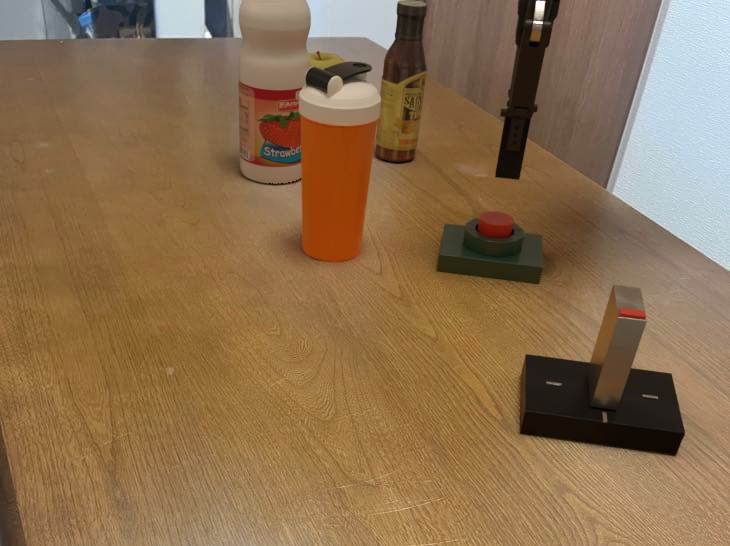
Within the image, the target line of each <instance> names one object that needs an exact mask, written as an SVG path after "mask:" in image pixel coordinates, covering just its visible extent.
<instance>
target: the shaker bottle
mask: <svg viewBox="0 0 730 546" xmlns="http://www.w3.org/2000/svg"><path fill="white" fill-rule="evenodd" d="M372 70H373V67H372V65H371V64H369V63H367V62H361V61H345V62H343V63H339V64H336V65H333V66H330V67H328V68H325V69H323V70H322V69H320V68H317V67H310V68H309V69H308V70H307V72H306V74H305V86H304V87H303V88H302V90H301V91H300V93H299V110H298V112H299V114H300V115H301V174H302V178H301V224H302V225H301V239H302V240H301V243H302V246H301V247H302V251H303V252H304V253H305V254H306V255H307V256H308V257H310V258H312V259H315V260H317V261H322V262H331V263H336V262H338V263H339V262H346V261H350V260H353V259H355V258H356V257H358V255H360V253H361V250H362V243H363V235H364V227H365V218H366V212H367V211H366V210H367V202H368V197H369V195H368V194H369V187H370V181H371V172H372V163H373V157H374V148H375V143H376V142H375V139H376V129H377V120H378V119H379V117H380V107H381V97H380V92H379V91H378V90H377V88H376V87H375V86H374V85H373V83H371V82H370V81H368V80H367V74H368V73H369V72H371V71H372Z"/></svg>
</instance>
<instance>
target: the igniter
mask: <svg viewBox="0 0 730 546" xmlns="http://www.w3.org/2000/svg"><path fill="white" fill-rule="evenodd" d="M479 218H480V217H478V218H477V217H476V218H473V219H470V220H469V221H467V222H466V223H465V225H461V224H453V223H444V224H443V229H442V234H441V242H440V246H439V252H438V259H437V265H436V266H437V267H436V272H437V273H445V274H452V275H453V274H455V275H462V276H467V277H468V276H469V277H477V278H484V279H485V278H486V279H493V280H499V281H500V280H502V281H508V282H516V283H524V284H532V285H540V283H541V277H542V274H543V269H544V254H543V253H544V252H543V235H542V234H535V233H528V232H525V229H524V228H523V227H522V226H520V225H519V224H518V223H515V222H514V224H513V229H512V234H511V236H510V237H507V238H492V237H487V236H485V235H482V234H480V233H479V232H478V231H477V230H478V224H479Z"/></svg>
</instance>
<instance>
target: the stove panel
mask: <svg viewBox="0 0 730 546" xmlns="http://www.w3.org/2000/svg"><path fill="white" fill-rule="evenodd" d="M589 364H590V361H589V362H588V361H581V360H573V359H566V358H558V357H552V356H545V355H544V356H543V355H536V354H528V353H526V354H525V356H524V360H523V364H522V368H521V373H520V392H519V394H520V395H519V397H520V399H519V401H520V402H519V433H520V434H521V435H527V436H528V435H529V436H535V437H543V438H551V439H557V440H565V441H571V442H580V443H584V444H585V443H586V444H592V445H600V446H608V447H614V448H622V449H627V450H633V451H634V450H635V451H640V452H641V451H643V452H649V453H655V454H663V455H671V456H677V455H678V452H679V449H680V447H681V445H682V442H683V439H684V437H685V435H686V431H685V426H684V422H683V418H682V413H681V409H680V405H679V399H678V396H677V395H678V394H677V391H676V386H675V381H674V377H673V373H670V372H666V371H656V370H649V369H640V368H634V367H631V370H630V373H629V376H628V379H627V382H626V385H625V388H624V391H623V394H622V397H621V400H620V403H619V406H618V409H617V410H611V409H603V408H596V407H590V398H589V386H588V375H587V371H588V367H589Z"/></svg>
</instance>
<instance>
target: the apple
mask: <svg viewBox="0 0 730 546" xmlns="http://www.w3.org/2000/svg"><path fill="white" fill-rule="evenodd" d="M308 54H309V59H310V67H317V68H320V69H322V70H323V69H325V68H328V67H330V66H333V65H336V64H339V63H343V62H346V61H345V59H344V58H343V57H342V56H340V55H338V54H335V53H332V52H331V53H330V52H324V51H323V52H321V51H320V50H317V51H316V52H308Z"/></svg>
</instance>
